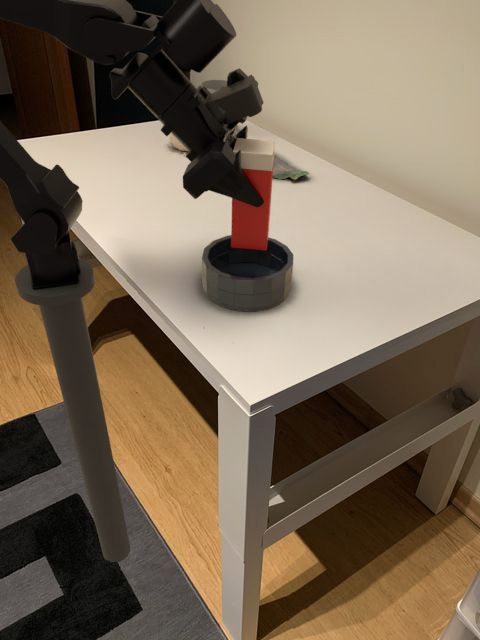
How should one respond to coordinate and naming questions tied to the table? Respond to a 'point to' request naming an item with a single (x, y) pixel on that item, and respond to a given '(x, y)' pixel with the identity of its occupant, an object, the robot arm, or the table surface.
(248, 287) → the pot
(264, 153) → the soup carton
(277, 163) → the leaf
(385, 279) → the table surface
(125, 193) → the table surface
